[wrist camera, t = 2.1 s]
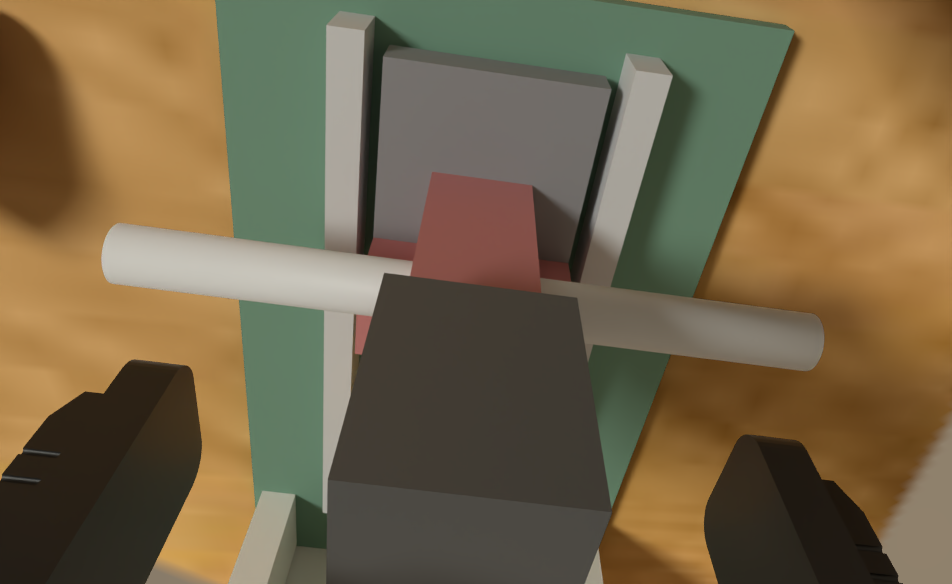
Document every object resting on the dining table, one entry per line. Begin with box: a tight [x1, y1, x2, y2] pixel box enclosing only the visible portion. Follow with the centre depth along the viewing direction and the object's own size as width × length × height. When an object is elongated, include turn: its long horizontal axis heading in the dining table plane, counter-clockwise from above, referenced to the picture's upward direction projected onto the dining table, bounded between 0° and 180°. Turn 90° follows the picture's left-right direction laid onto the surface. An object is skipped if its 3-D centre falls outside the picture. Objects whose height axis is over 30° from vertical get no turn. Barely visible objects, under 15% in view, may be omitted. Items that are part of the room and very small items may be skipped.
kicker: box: [102, 45, 824, 584], centre depth 13 cm, size 6×14×11 cm, turn 82°
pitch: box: [215, 0, 794, 549], centre depth 21 cm, size 22×13×2 cm, turn 172°
